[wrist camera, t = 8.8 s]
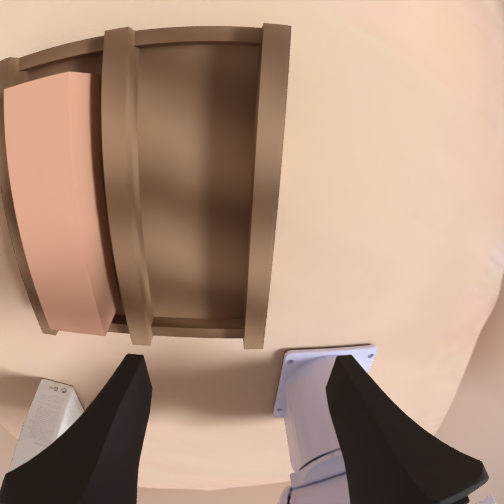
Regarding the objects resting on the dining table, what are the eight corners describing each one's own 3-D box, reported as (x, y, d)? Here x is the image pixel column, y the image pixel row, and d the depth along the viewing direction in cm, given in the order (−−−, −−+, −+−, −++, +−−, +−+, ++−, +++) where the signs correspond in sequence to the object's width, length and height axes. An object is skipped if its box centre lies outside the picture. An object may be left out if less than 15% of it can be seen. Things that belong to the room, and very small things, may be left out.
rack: (259, 319, 22) (262, 349, 19) (58, 308, 20) (43, 333, 18) (280, 38, 13) (291, 26, 11) (23, 63, 12) (-5, 63, 9)
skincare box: (40, 376, 24) (2, 471, 14) (76, 385, 25) (43, 489, 14) (58, 409, 27) (31, 494, 17) (91, 417, 28) (68, 508, 17)
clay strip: (120, 300, 19) (105, 335, 16) (70, 296, 19) (50, 329, 16) (99, 74, 13) (69, 71, 10) (40, 86, 12) (4, 89, 9)
